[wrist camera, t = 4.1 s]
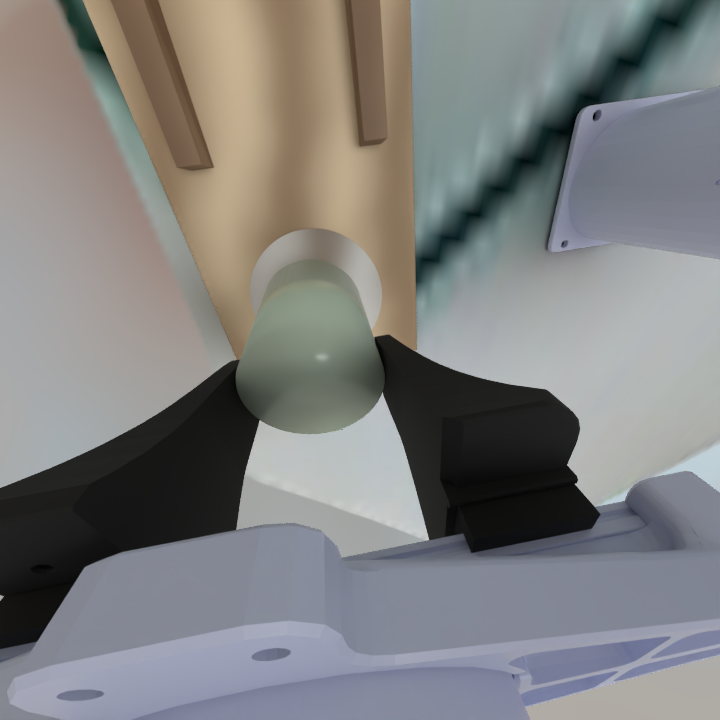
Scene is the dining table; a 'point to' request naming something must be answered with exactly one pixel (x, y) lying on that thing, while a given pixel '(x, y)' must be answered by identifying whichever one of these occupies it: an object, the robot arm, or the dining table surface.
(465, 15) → the dining table surface
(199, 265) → the board
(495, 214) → the dining table surface
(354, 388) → the sage green cylinder
